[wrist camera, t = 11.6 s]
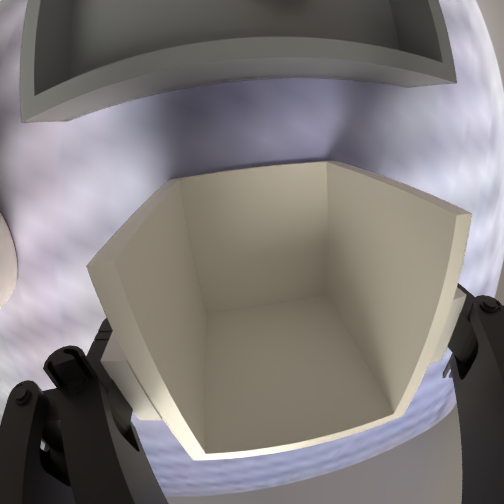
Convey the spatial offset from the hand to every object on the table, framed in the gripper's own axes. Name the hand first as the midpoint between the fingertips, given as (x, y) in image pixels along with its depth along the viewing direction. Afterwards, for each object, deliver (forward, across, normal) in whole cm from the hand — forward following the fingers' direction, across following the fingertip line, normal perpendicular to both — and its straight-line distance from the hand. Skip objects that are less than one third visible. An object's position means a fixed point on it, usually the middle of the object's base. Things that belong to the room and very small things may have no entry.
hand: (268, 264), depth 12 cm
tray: (+2, 0, +17) cm, 17 cm away
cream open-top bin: (+2, 0, 0) cm, 2 cm away
